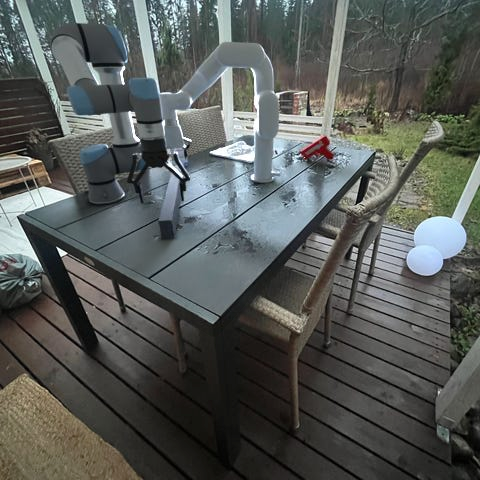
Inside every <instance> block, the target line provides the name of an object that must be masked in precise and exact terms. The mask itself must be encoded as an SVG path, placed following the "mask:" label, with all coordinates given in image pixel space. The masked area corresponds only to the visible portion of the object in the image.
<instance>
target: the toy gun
mask: <svg viewBox="0 0 480 480" xmlns="http://www.w3.org/2000/svg"><path fill="white" fill-rule="evenodd" d="M330 143H331V141H330V139H329V138H328V136H327V135H326V134H325V135H323V136H321V137H320V138H318V139H317V140H315V141H314V142H312V143H311V144H309V145H307V146H306V147H304V148H303V149H301V150H300V151H299V154H300V155H301V157H302V158H303V157H305V158H303V160H305V161H307V160H308V159H309V158H310V157H313V156H315V157H317V158H318V157H320V156H323V157H325V158H326V159H327V162H330V160H328V159H332V160H333V159H334V157H335V153H334V152H332V151H331V150H330V149H329V148H328V146H330Z"/></svg>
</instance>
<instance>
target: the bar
mask: <svg viewBox="0 0 480 480" xmlns="http://www.w3.org/2000/svg"><path fill="white" fill-rule="evenodd" d="M173 167H174V168H175V169H176V170H177V171H178V172H179V173H181V174H182V175H183V173H182V172H181V170H180V169H179V167H178V166H173ZM183 176H184V175H183ZM179 183H180V180H179V179H178V178H177V177H175V176H174V175H173V174H172V173H171V172H170V177H169V180H168V184H167V187H166V190H165V195H164V199H163V202H162V205H161V209H160V213H159V216H158V226H159V232H160V233H159V234H160V238H161V240H171V239H175V237H176V232H177V224H178V219H179V212H180V204H181V193H180V185H179Z"/></svg>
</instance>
